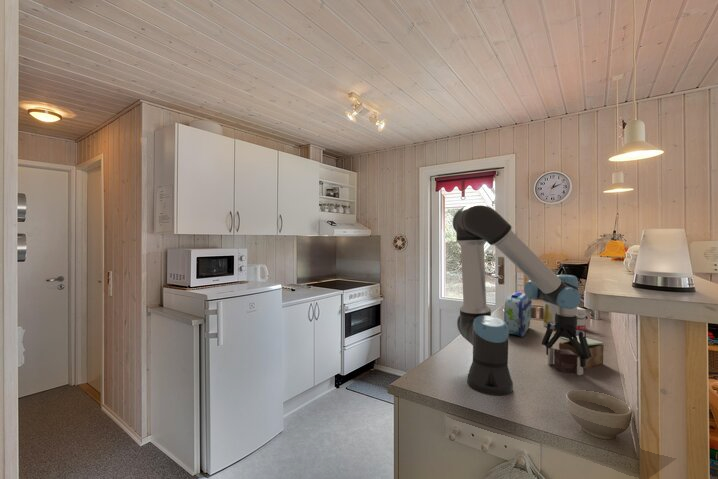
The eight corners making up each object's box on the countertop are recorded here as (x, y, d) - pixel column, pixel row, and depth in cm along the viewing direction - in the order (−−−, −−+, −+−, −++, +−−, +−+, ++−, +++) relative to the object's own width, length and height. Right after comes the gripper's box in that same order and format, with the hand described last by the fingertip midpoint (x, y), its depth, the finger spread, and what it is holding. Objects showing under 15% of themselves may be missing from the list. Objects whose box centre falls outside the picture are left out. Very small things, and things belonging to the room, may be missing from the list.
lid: (585, 345, 132) (585, 344, 133) (560, 338, 141) (560, 337, 141) (603, 343, 139) (603, 342, 139) (578, 337, 148) (578, 335, 148)
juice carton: (541, 325, 196) (542, 284, 195) (553, 325, 197) (554, 284, 196) (552, 330, 186) (553, 287, 186) (565, 329, 187) (566, 287, 187)
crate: (583, 370, 132) (584, 350, 132) (558, 361, 141) (559, 342, 141) (603, 363, 139) (603, 344, 139) (577, 355, 148) (578, 337, 148)
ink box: (586, 330, 186) (586, 309, 186) (577, 330, 186) (577, 309, 186) (576, 326, 195) (576, 305, 194) (567, 326, 195) (568, 305, 195)
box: (576, 373, 130) (576, 354, 129) (559, 372, 131) (559, 353, 131) (569, 367, 136) (570, 349, 135) (553, 365, 137) (553, 348, 137)
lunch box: (524, 339, 170) (525, 298, 169) (501, 335, 176) (502, 296, 175) (532, 327, 191) (533, 291, 190) (512, 324, 197) (513, 289, 197)
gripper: (603, 320, 124) (602, 378, 125) (543, 307, 145) (542, 357, 145) (592, 322, 121) (591, 382, 121) (532, 308, 141) (531, 360, 142)
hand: (564, 368), depth 133 cm, fingers open, 11 cm apart
